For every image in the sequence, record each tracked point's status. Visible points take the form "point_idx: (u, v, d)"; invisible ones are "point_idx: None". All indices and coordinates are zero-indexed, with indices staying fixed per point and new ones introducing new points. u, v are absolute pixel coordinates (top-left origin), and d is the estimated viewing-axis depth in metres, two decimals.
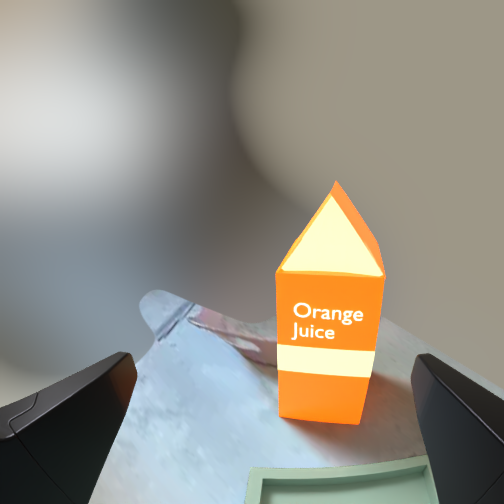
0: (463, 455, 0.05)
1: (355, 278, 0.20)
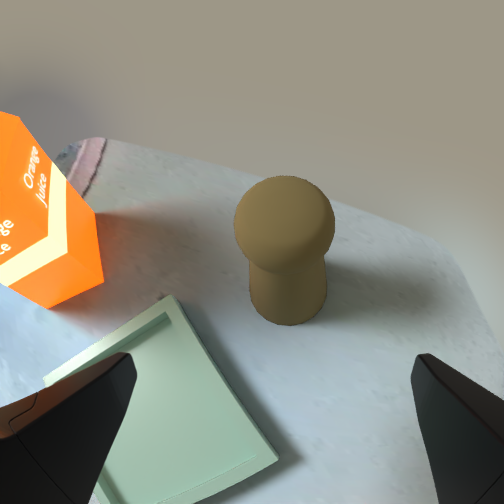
0: (463, 455, 0.05)
1: None
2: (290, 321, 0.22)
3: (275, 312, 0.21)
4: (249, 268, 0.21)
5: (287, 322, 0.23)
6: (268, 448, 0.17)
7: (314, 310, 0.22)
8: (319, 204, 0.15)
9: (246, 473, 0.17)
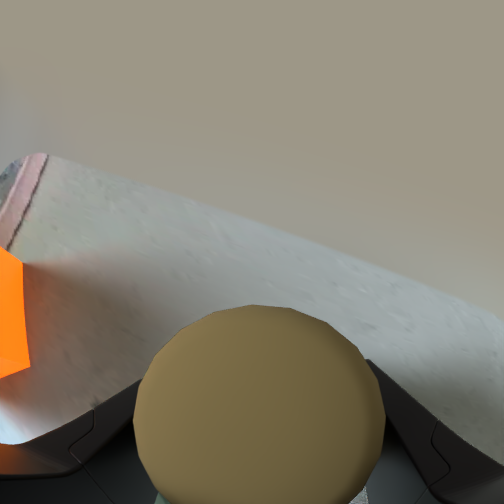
0: (386, 472, 0.05)
1: None
2: None
3: None
4: None
5: None
6: None
7: None
8: (356, 423, 0.04)
9: None
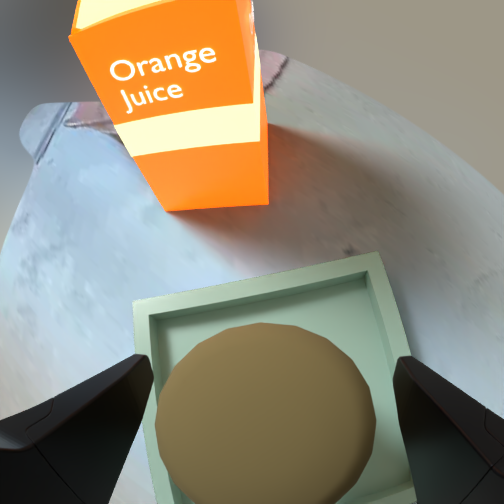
0: (440, 461, 0.05)
1: (182, 1, 0.09)
2: None
3: None
4: None
5: None
6: None
7: None
8: (349, 426, 0.05)
9: None
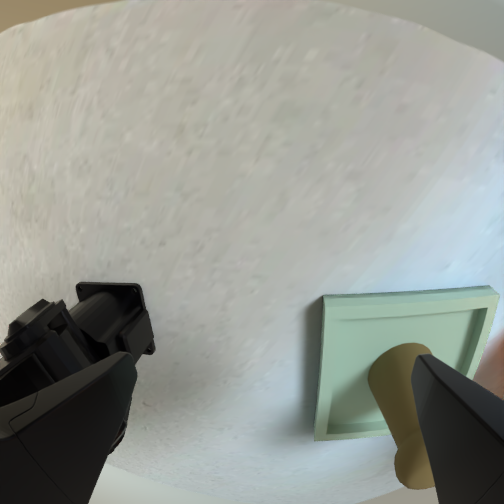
0: (463, 455, 0.05)
1: None
2: (372, 377, 0.22)
3: (383, 378, 0.20)
4: None
5: (372, 372, 0.22)
6: (325, 440, 0.24)
7: (373, 395, 0.22)
8: (426, 488, 0.13)
9: (319, 426, 0.24)
